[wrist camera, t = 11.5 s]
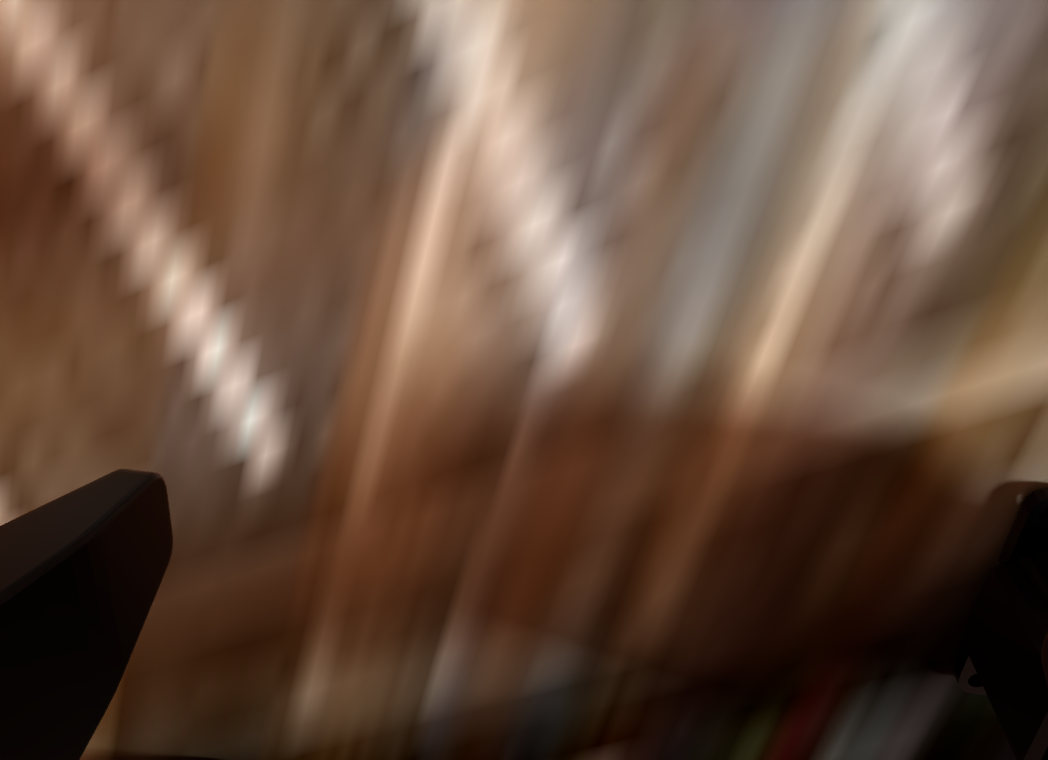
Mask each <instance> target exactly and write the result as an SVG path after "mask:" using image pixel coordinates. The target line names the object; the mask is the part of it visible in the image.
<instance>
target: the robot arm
mask: <svg viewBox="0 0 1048 760" xmlns="http://www.w3.org/2000/svg"><path fill="white" fill-rule="evenodd" d="M1047 507H1048V488H1043V489H1039V490H1036V491H1034V492H1032V493H1031V494H1029V495H1028V496H1027V497H1026V498H1025V500H1024V501H1023V502H1022V505H1021V507H1020V509H1019V512H1018V514H1017V517H1016V519H1015V521H1014V524H1013V526H1012V529H1011V531H1010V534H1009V536H1008V538H1007V541H1006V543H1005V546H1004V548H1003V550H1002V553H1001V555H1000V558H999V560H998V562H997V563H996V564H995V565H994V566H993V567H992V568H991V569H990V571H989V573H988V576H987V578H986V581H985V583H984V586H983V588H982V590H981V593H980V595H979V598H978V600H977V603H976V605H975V607H974V610H973V612H972V615H971V617H970V620H969V622H968V624H967V627H966V629H965V632H964V634H963V637H962V642H963V647H962V649H961V652H960V654H959V656H958V659H957V661H956V664H955V666H954V675H955V677H956V679H957V682H958V684H959V686H960V688H961V689H962V690H964V691H965V692H968V693H972V694H981V695H987V696H988V698H989V700H990V702H991V704H992V707H993V709H994V711H995V713H996V715H997V717H998V720H999V722H1000V724H1001V726H1002V728H1003V730H1004V732H1005V735H1006V737H1007V739H1008V741H1009V743H1010V745H1011V748H1012V750H1013V752H1014V754H1015V756H1016V758H1017V760H1048V512H1046V513H1041V514H1040V512H1041V511H1042V510H1043V509H1045V508H1047ZM172 548H173V533H172V525H171V518H170V510H169V502H168V495H167V487H166V483H165V481H164V479H163V477H162V476H161V475H160V474H158V473H156V472H150V471H141V470H133V469H119V470H116V471H114V472H111V473H109V474H107V475H105V476H103V477H101V478H99V479H97V480H95V481H93V482H91V483H89V484H87V485H85V486H82V487H80V488H78V489H76V490H74V491H72V492H70V493H68V494H66V495H64V496H62V497H60V498H58V499H55V500H53V501H51V502H49V503H47V504H45V505H43V506H41V507H39V508H37V509H35V510H33V511H31V512H28V513H26V514H24V515H22V516H20V517H18V518H16V519H14V520H12V521H10V522H8V523H6V524H4V525H2V526H0V760H79V759H80V757H81V756H82V754H83V752H84V750H85V748H86V746H87V745H88V743H89V741H90V739H91V737H92V736H93V734H94V732H95V730H96V728H97V726H98V725H99V723H100V721H101V719H102V717H103V715H104V713H105V712H106V710H107V708H108V706H109V704H110V702H111V700H112V698H113V696H114V694H115V692H116V690H117V687H118V685H119V683H120V681H121V678H122V676H123V674H124V672H125V669H126V667H127V664H128V662H129V659H130V657H131V654H132V652H133V650H134V647H135V645H136V642H137V640H138V637H139V635H140V632H141V630H142V628H143V625H144V623H145V620H146V618H147V615H148V613H149V610H150V608H151V605H152V603H153V601H154V598H155V596H156V593H157V591H158V588H159V586H160V583H161V581H162V579H163V576H164V574H165V571H166V569H167V566H168V564H169V561H170V558H171V554H172ZM974 674H977V675H974ZM972 675H974V676H972Z"/></svg>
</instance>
